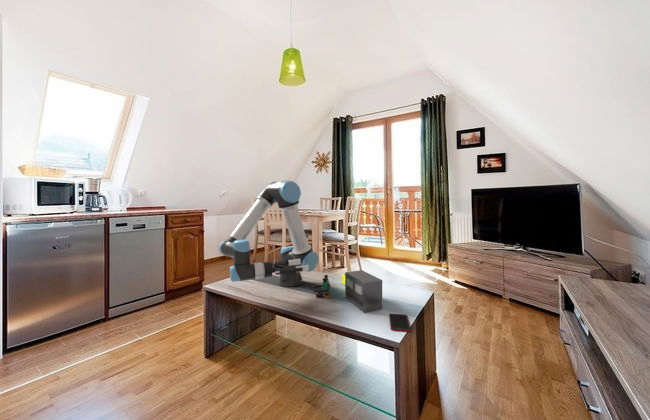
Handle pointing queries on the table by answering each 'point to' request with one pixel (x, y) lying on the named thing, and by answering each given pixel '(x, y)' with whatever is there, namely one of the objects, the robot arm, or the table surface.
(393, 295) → the table surface
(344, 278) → the yellow toy chassis
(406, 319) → the cell phone
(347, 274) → the box
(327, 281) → the binoculars
